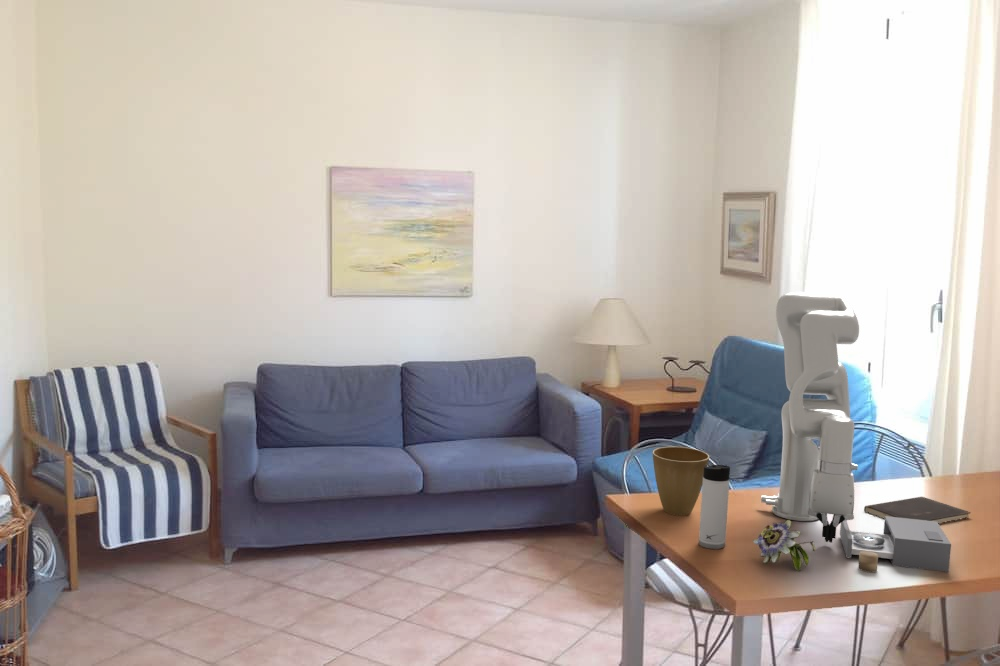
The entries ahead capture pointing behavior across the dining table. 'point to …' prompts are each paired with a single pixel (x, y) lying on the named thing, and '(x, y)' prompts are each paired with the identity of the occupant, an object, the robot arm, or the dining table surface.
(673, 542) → the dining table surface
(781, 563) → the dining table surface
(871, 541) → the disc
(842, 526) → the tray
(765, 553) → the passion flower
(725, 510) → the travel mug
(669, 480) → the plant pot
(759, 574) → the dining table surface
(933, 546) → the housing
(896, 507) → the hardcover book
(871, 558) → the stand
